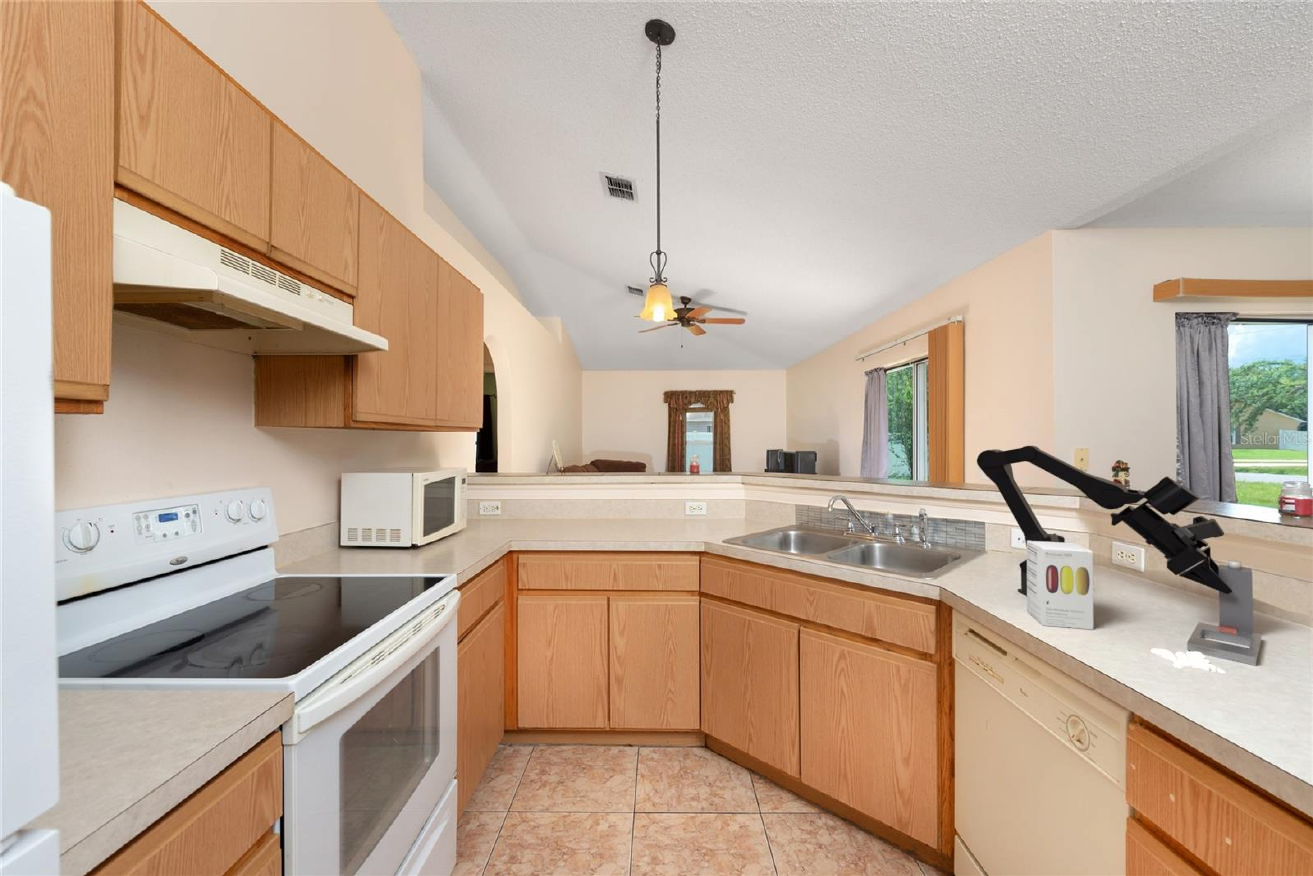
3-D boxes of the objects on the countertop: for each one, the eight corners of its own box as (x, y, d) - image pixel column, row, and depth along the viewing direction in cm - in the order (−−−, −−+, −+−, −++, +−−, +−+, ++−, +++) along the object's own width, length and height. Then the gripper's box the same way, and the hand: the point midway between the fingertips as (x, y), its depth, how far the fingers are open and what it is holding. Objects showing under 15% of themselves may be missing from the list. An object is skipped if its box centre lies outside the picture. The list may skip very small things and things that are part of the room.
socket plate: (1255, 665, 89) (1255, 654, 89) (1187, 650, 96) (1187, 639, 96) (1261, 641, 99) (1261, 631, 99) (1198, 629, 106) (1198, 619, 106)
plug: (1219, 631, 104) (1218, 561, 104) (1219, 625, 107) (1218, 557, 107) (1253, 637, 101) (1252, 565, 101) (1252, 631, 104) (1251, 561, 104)
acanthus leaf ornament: (1150, 655, 96) (1150, 645, 96) (1196, 659, 94) (1196, 649, 94) (1177, 672, 89) (1177, 661, 89) (1228, 677, 87) (1227, 666, 87)
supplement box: (1042, 626, 109) (1040, 548, 109) (1025, 611, 118) (1024, 539, 118) (1096, 630, 106) (1094, 550, 106) (1075, 615, 115) (1073, 541, 115)
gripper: (1188, 510, 103) (1275, 574, 94) (1192, 500, 115) (1269, 556, 107) (1136, 543, 108) (1214, 606, 100) (1145, 531, 121) (1215, 586, 113)
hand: (1230, 587), depth 105 cm, fingers open, 9 cm apart
